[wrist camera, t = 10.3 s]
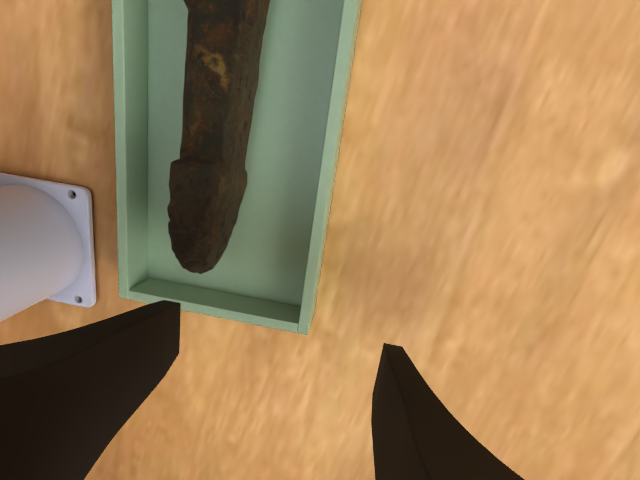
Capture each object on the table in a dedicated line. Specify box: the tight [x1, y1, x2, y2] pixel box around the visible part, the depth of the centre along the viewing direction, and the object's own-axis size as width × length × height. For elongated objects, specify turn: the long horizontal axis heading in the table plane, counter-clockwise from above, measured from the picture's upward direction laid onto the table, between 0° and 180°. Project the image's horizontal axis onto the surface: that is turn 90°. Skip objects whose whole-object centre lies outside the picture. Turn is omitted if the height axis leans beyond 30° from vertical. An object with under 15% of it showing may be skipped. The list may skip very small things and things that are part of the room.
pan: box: [111, 0, 362, 335], centre depth 18 cm, size 11×23×2 cm, turn 172°
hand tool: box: [167, 0, 270, 274], centre depth 17 cm, size 19×4×5 cm, turn 167°
